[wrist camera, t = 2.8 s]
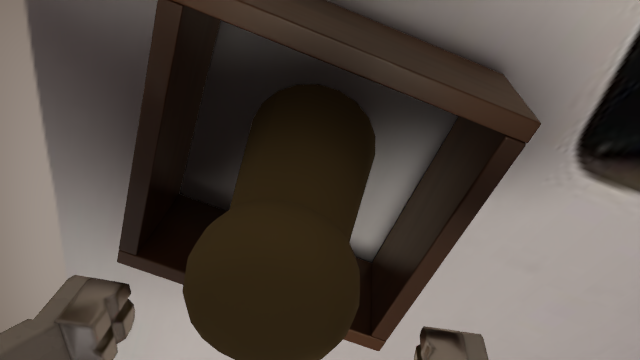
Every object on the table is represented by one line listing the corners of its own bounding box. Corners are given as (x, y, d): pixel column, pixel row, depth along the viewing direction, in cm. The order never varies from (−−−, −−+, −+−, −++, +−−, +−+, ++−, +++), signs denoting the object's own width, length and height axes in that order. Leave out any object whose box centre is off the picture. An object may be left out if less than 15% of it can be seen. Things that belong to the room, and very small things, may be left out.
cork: (383, 190, 22) (388, 398, 13) (268, 204, 23) (194, 402, 14) (365, 73, 19) (353, 231, 10) (233, 95, 20) (110, 254, 11)
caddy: (162, 199, 24) (116, 262, 20) (215, -47, 17) (162, -32, 13) (378, 277, 25) (379, 352, 21) (504, 74, 18) (542, 123, 14)
